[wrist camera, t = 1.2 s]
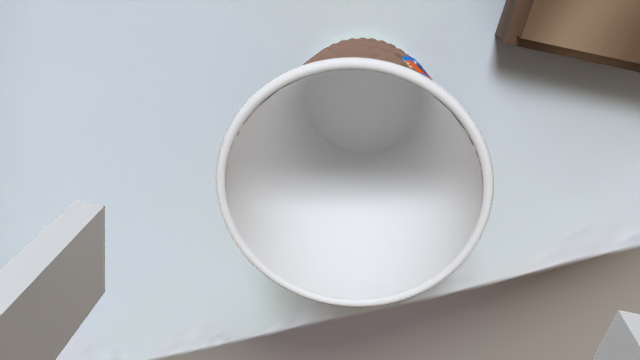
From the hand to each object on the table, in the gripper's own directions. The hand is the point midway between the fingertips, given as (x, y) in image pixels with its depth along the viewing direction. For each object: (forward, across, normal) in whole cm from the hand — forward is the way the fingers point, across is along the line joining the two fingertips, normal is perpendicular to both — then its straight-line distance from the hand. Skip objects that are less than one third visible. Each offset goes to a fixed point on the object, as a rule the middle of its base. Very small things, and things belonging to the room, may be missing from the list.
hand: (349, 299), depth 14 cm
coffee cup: (+19, 0, -1) cm, 19 cm away
